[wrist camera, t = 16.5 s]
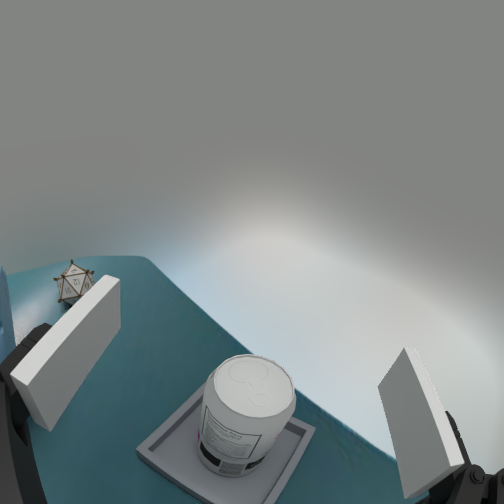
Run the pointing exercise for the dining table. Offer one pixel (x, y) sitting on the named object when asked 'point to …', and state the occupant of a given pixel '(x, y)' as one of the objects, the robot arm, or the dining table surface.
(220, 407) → the supplement can
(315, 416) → the dining table surface
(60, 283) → the game die
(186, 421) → the tray
